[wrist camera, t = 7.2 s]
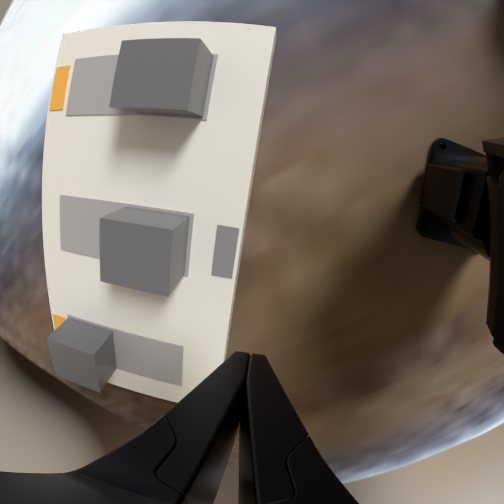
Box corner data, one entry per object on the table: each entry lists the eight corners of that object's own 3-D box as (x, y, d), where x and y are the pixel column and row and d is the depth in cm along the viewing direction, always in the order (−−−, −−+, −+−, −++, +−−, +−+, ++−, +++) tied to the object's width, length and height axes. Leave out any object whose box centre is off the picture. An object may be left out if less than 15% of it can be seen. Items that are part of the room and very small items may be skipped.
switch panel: (276, 39, 16) (276, 26, 14) (220, 394, 24) (216, 412, 22) (78, 41, 16) (62, 34, 14) (72, 353, 24) (61, 366, 22)
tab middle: (189, 216, 17) (172, 230, 14) (184, 274, 18) (168, 296, 15) (125, 206, 17) (99, 217, 14) (123, 262, 18) (100, 281, 16)
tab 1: (112, 331, 20) (93, 355, 17) (116, 368, 21) (100, 392, 18) (68, 317, 20) (46, 338, 17) (74, 353, 21) (55, 375, 19)
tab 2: (213, 55, 14) (200, 38, 11) (202, 116, 15) (187, 110, 13) (145, 54, 14) (121, 40, 11) (135, 112, 15) (109, 107, 13)
